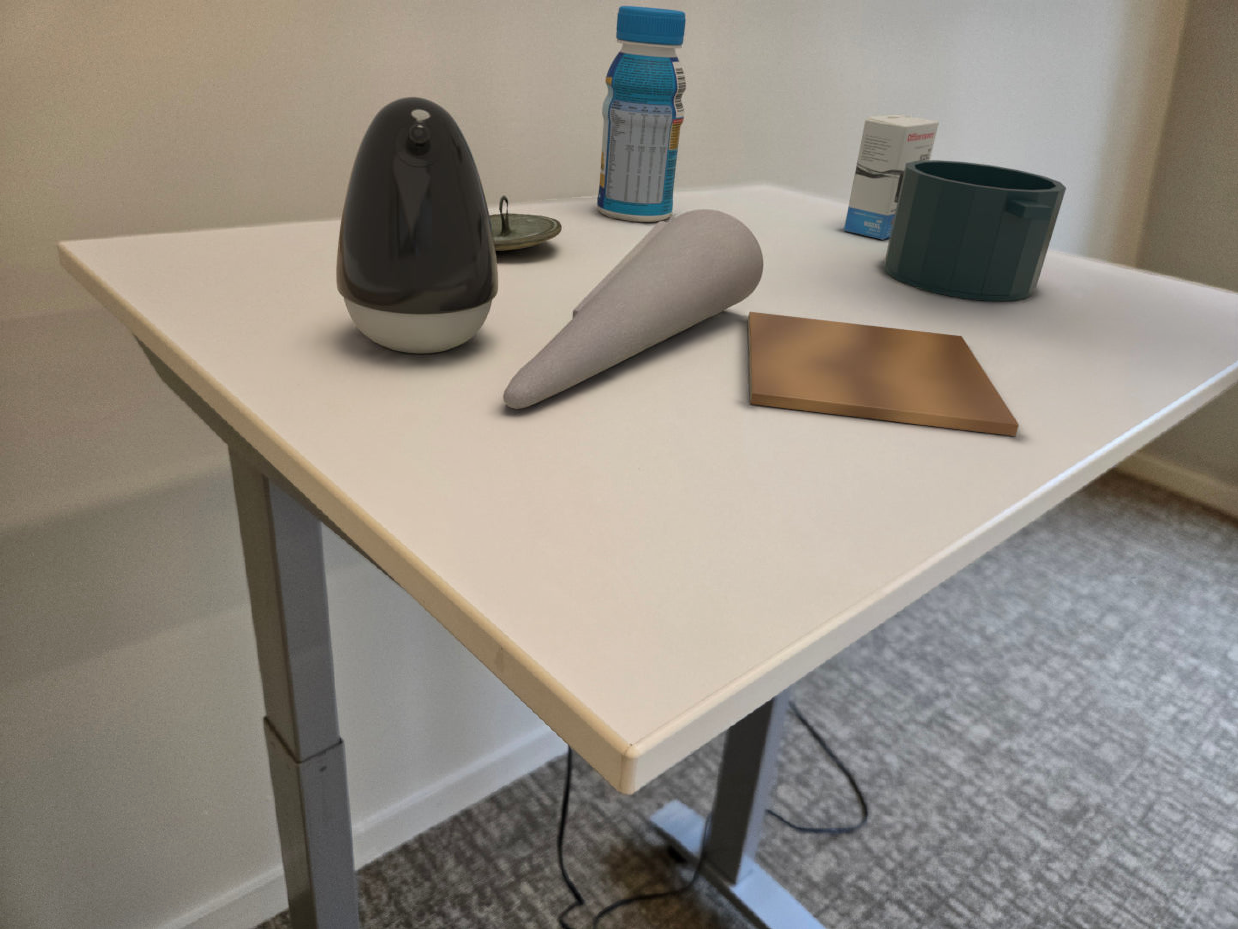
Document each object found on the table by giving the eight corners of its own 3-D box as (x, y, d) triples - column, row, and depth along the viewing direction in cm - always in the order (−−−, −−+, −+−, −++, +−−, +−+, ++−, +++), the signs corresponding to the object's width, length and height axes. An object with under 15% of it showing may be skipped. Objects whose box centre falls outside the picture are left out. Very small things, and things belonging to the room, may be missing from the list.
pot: (974, 253, 96) (999, 159, 92) (1080, 313, 80) (1117, 202, 75) (852, 248, 94) (871, 151, 90) (935, 308, 78) (963, 194, 73)
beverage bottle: (621, 225, 94) (639, 8, 85) (581, 206, 101) (593, 2, 91) (688, 221, 99) (712, 14, 89) (645, 203, 105) (664, 8, 95)
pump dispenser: (337, 371, 56) (320, 104, 49) (342, 314, 65) (328, 81, 57) (506, 369, 58) (512, 115, 51) (488, 314, 67) (492, 91, 60)
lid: (574, 275, 83) (588, 219, 81) (477, 256, 76) (491, 195, 75) (517, 249, 90) (529, 198, 89) (424, 230, 84) (436, 175, 83)
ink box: (882, 241, 98) (907, 124, 92) (841, 230, 101) (863, 117, 95) (916, 230, 104) (941, 120, 98) (876, 221, 107) (899, 113, 101)
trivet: (959, 345, 70) (962, 335, 69) (1015, 436, 55) (1019, 424, 55) (747, 321, 71) (749, 311, 70) (750, 404, 56) (752, 392, 56)
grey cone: (639, 373, 48) (770, 220, 67) (491, 335, 50) (660, 199, 70) (630, 493, 52) (756, 316, 72) (495, 454, 54) (652, 293, 74)
